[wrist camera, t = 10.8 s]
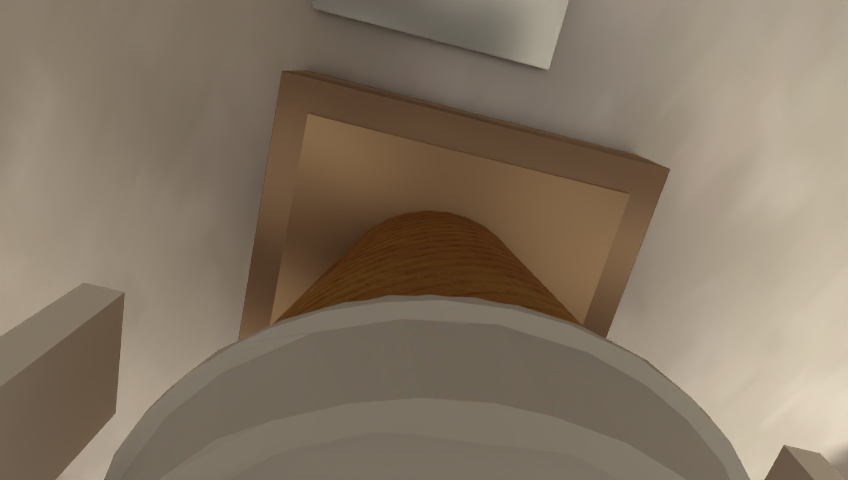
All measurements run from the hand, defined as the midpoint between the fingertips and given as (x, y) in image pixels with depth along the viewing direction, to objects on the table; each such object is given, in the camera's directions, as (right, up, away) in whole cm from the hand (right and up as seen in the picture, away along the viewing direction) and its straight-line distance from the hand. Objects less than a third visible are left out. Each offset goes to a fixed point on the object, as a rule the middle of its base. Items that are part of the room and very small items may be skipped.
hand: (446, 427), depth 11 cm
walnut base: (0, +3, +10) cm, 11 cm away
